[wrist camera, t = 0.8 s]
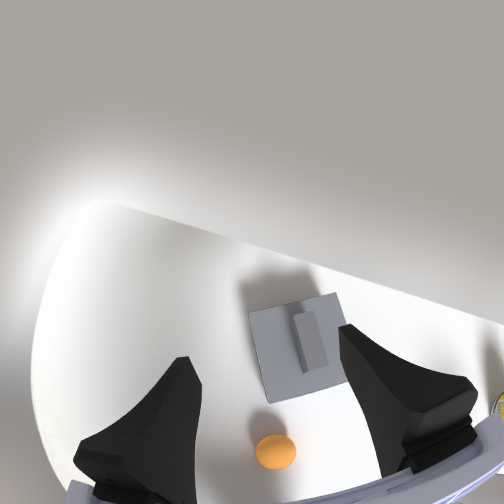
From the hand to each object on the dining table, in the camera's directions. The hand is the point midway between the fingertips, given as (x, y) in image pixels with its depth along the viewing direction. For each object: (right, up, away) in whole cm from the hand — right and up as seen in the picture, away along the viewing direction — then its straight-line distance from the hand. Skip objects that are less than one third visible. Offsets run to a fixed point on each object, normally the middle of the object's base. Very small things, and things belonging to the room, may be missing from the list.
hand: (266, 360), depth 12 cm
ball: (+2, -15, +10) cm, 18 cm away
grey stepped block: (+4, -6, +17) cm, 18 cm away
